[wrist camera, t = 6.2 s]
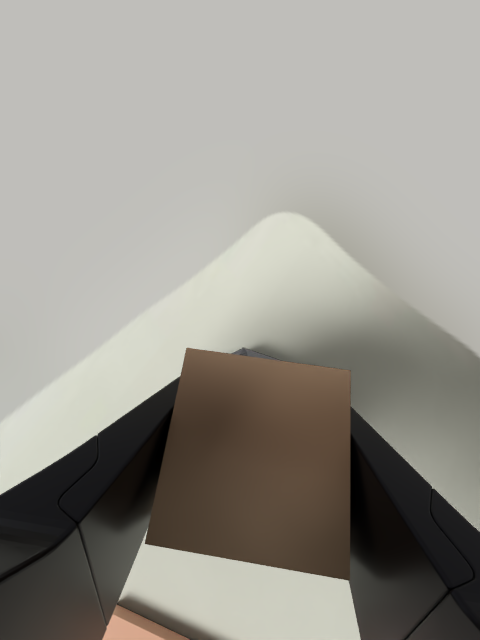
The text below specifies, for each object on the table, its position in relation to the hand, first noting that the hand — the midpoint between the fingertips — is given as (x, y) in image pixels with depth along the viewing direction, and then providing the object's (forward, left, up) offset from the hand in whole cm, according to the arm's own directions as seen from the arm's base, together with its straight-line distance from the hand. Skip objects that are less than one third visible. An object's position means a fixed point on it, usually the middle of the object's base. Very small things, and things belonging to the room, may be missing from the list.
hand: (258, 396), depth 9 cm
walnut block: (-1, 0, -7) cm, 7 cm away
